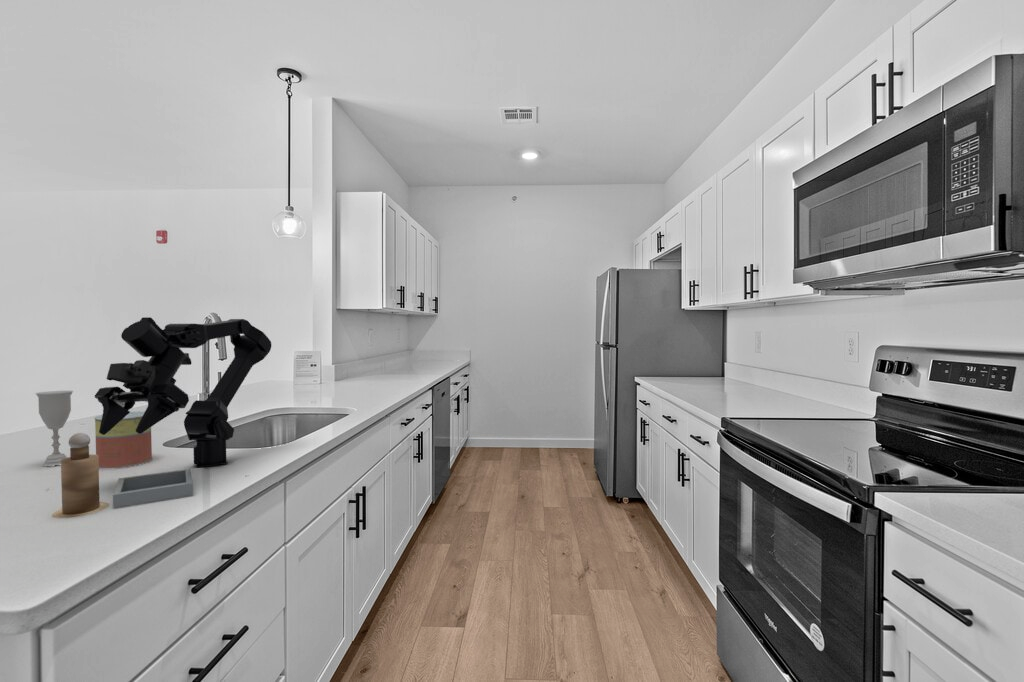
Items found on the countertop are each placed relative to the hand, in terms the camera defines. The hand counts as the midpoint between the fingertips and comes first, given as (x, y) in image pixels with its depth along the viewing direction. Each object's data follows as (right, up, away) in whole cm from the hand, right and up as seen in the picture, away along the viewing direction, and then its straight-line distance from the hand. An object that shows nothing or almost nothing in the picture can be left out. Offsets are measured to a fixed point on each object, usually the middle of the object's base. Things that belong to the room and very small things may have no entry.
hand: (119, 433), depth 100 cm
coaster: (0, -13, -8) cm, 16 cm away
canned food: (-19, -12, +26) cm, 35 cm away
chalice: (-35, -12, +25) cm, 45 cm away
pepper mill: (0, -12, -8) cm, 15 cm away
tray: (+7, -13, +1) cm, 14 cm away
